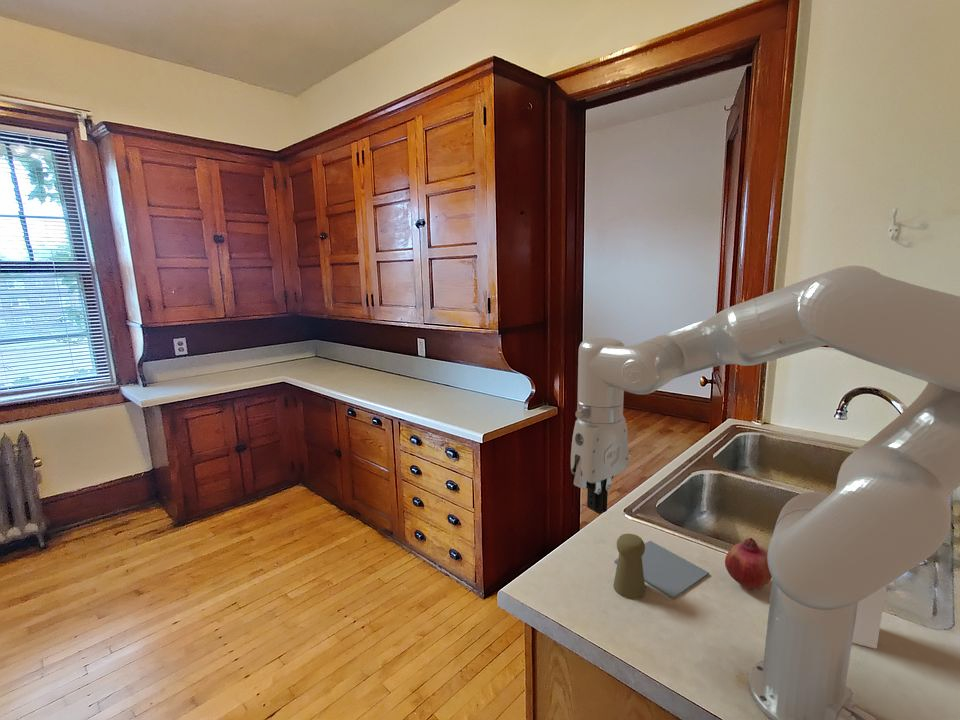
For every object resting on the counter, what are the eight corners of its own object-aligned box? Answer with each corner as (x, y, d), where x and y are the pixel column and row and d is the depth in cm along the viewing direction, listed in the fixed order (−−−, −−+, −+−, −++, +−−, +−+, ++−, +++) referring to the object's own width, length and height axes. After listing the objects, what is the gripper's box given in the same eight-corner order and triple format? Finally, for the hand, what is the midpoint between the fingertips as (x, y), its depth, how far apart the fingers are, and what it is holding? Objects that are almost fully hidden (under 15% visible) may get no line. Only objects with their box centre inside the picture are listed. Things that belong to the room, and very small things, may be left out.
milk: (831, 638, 78) (846, 518, 74) (824, 613, 84) (837, 500, 79) (877, 649, 76) (896, 526, 71) (867, 623, 81) (883, 507, 77)
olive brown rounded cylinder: (641, 578, 95) (643, 529, 92) (649, 599, 89) (651, 547, 87) (610, 577, 95) (612, 528, 93) (616, 598, 89) (617, 546, 87)
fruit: (780, 590, 90) (785, 543, 88) (752, 604, 87) (757, 556, 84) (741, 567, 97) (745, 523, 95) (714, 579, 94) (718, 534, 92)
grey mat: (709, 574, 95) (709, 572, 95) (673, 599, 89) (673, 597, 88) (650, 542, 106) (650, 540, 106) (614, 562, 100) (614, 560, 100)
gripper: (585, 427, 72) (582, 533, 76) (646, 408, 80) (641, 505, 84) (551, 414, 78) (551, 514, 82) (612, 398, 87) (608, 489, 90)
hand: (596, 509), depth 83 cm, fingers closed
